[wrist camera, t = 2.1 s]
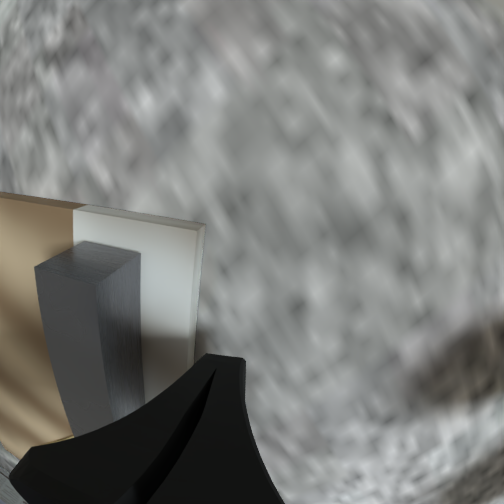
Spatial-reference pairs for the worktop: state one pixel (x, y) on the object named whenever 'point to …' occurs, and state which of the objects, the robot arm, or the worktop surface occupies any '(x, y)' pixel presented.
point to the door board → (29, 317)
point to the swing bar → (93, 332)
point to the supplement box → (8, 490)
